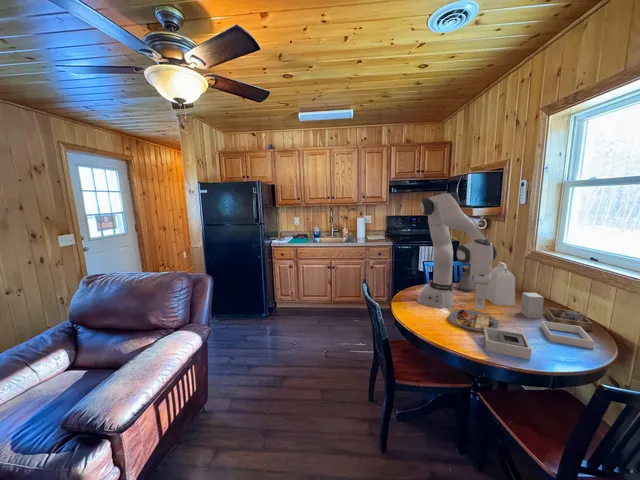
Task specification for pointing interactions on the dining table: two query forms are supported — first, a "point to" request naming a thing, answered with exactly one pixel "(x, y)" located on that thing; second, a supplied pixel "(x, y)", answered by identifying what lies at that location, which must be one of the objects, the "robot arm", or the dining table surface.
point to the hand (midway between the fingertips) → (479, 302)
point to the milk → (501, 286)
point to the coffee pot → (466, 282)
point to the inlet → (510, 339)
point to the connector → (479, 307)
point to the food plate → (479, 319)
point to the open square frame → (583, 342)
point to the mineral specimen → (572, 316)
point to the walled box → (504, 348)
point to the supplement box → (532, 305)
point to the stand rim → (557, 312)
